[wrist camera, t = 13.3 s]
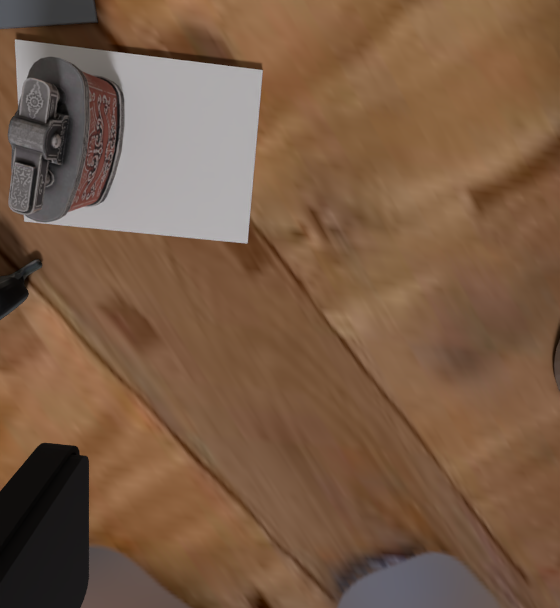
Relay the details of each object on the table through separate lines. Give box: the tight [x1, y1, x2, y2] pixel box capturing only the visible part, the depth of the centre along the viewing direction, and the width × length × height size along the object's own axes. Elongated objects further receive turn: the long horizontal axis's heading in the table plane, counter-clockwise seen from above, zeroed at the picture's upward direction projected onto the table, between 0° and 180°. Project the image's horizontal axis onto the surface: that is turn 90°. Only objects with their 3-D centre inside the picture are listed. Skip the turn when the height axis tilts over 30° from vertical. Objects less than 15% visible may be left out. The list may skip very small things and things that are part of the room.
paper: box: [15, 39, 263, 243], centre depth 32 cm, size 15×11×1 cm
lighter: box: [8, 57, 125, 223], centre depth 27 cm, size 8×3×10 cm, turn 164°
